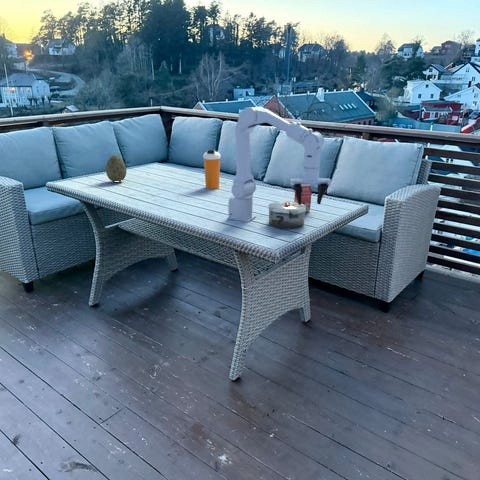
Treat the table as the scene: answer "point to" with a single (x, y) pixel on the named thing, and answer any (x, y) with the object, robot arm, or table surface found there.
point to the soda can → (305, 197)
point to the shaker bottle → (212, 168)
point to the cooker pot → (286, 220)
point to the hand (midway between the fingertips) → (309, 203)
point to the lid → (287, 208)
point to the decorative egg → (115, 168)
